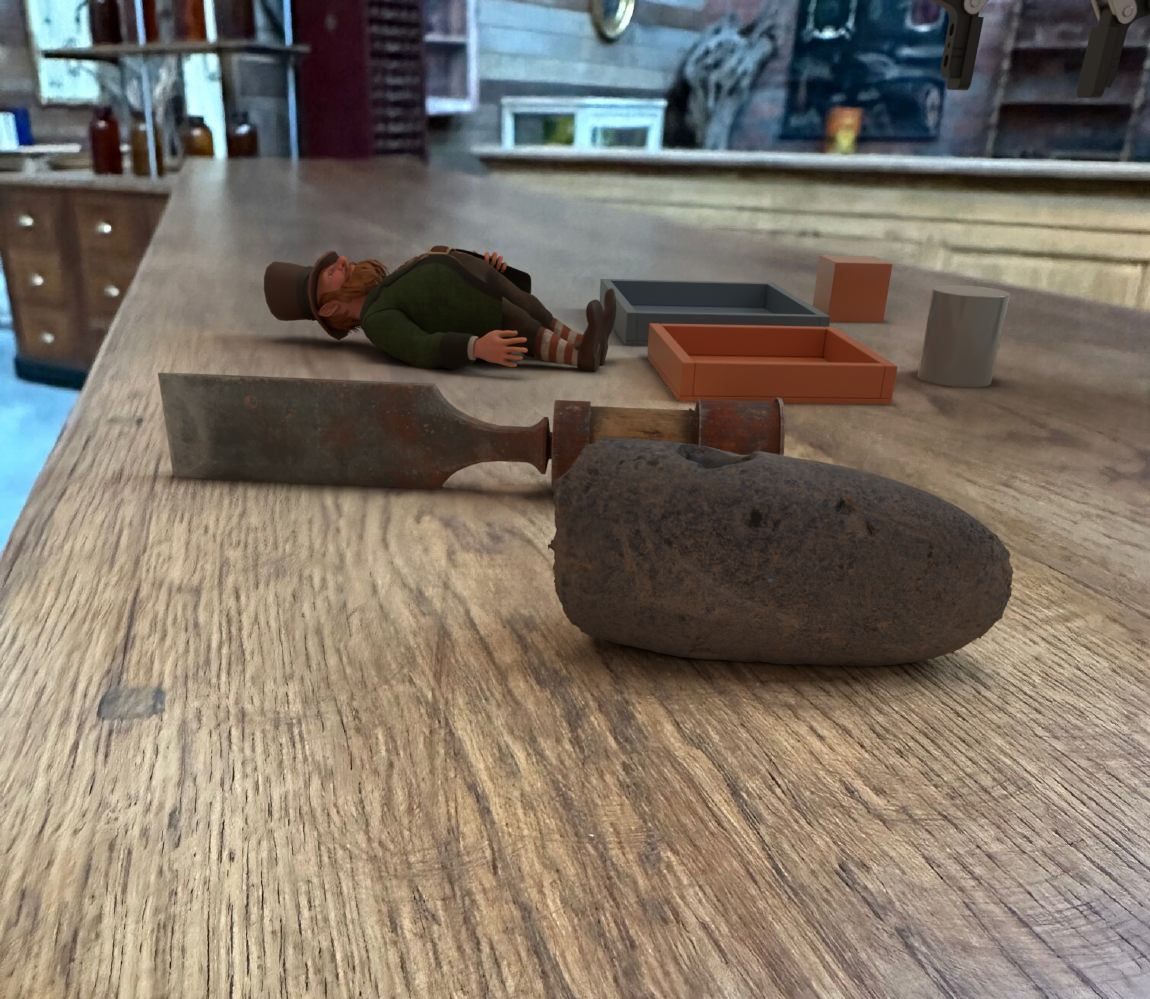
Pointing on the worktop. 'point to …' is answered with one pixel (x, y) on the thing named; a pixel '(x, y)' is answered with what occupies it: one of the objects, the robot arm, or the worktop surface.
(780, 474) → the perforated stone tool
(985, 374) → the stone cylinder
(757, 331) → the terracotta tray
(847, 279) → the clay block
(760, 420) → the chisel
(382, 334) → the leprechaun
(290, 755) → the worktop surface
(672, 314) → the slate tray
